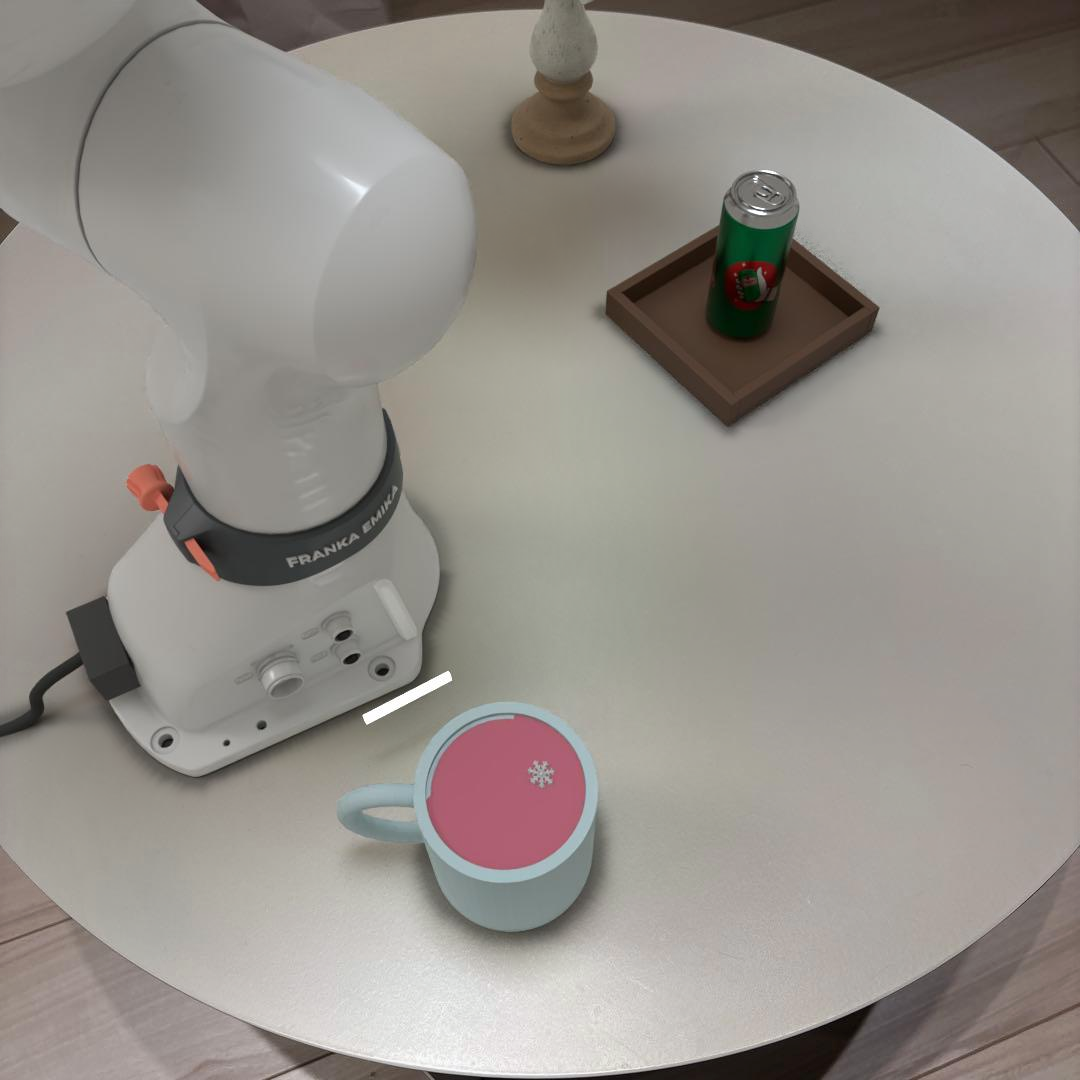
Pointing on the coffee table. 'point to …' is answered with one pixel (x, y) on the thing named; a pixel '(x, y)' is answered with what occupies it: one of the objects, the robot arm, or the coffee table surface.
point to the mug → (496, 814)
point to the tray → (738, 363)
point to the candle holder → (563, 91)
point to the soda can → (751, 253)
